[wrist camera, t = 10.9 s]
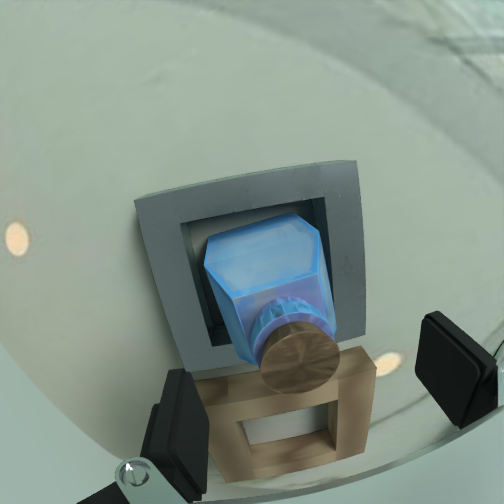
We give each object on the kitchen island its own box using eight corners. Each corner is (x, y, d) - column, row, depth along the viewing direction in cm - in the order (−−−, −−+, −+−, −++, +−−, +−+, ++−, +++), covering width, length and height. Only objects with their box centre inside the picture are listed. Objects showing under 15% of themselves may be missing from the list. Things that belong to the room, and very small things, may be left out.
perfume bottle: (234, 310, 23) (246, 431, 12) (208, 236, 21) (194, 322, 10) (310, 287, 23) (376, 389, 12) (292, 211, 21) (368, 269, 10)
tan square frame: (361, 345, 25) (376, 367, 22) (354, 431, 30) (364, 452, 26) (189, 381, 25) (186, 408, 21) (224, 459, 29) (226, 482, 26)
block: (339, 160, 20) (356, 160, 17) (351, 316, 24) (365, 334, 21) (145, 194, 20) (133, 200, 17) (189, 350, 24) (186, 372, 21)
